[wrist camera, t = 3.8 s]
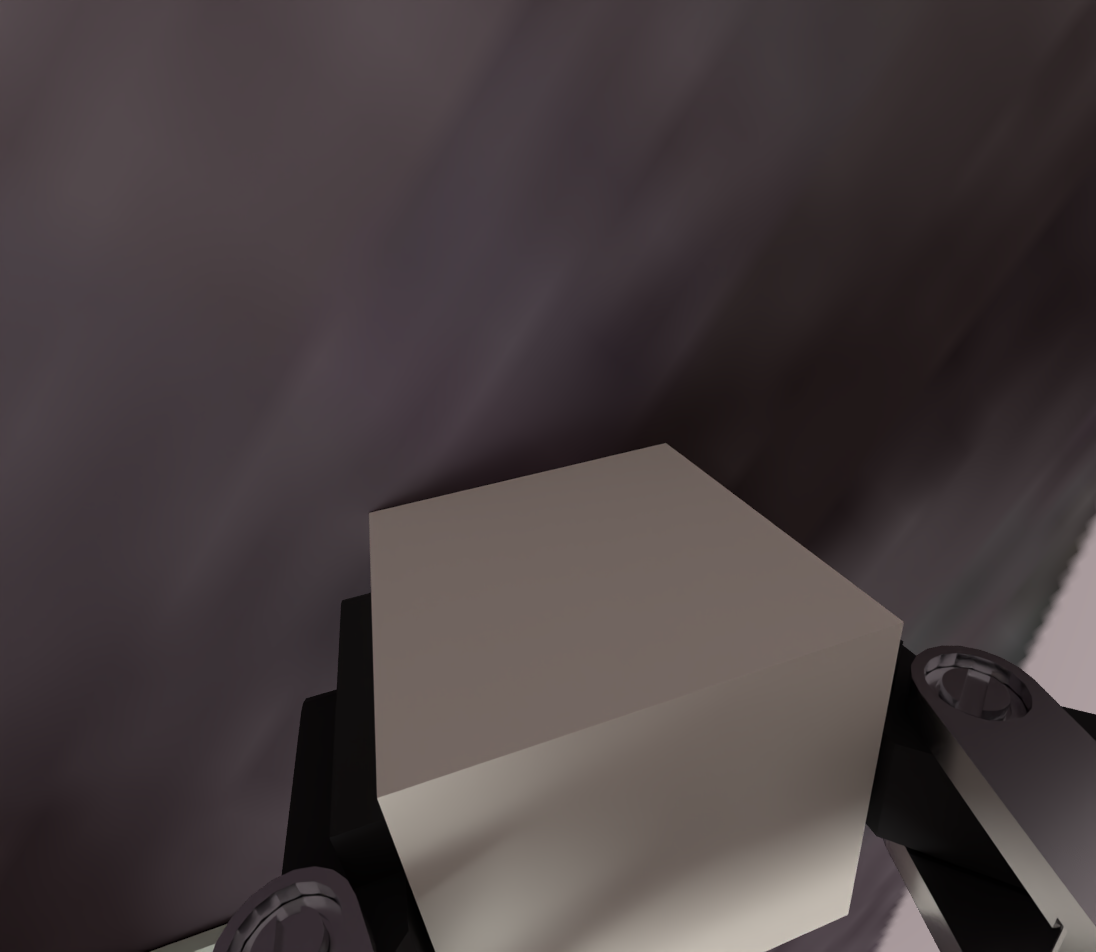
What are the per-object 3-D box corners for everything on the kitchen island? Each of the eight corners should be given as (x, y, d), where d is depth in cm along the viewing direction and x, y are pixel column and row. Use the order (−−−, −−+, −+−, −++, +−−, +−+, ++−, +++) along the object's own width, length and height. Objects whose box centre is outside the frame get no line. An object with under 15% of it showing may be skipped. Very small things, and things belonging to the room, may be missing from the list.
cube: (368, 513, 9) (376, 797, 5) (666, 442, 10) (903, 621, 6) (435, 740, 11) (483, 1079, 7) (672, 664, 12) (847, 916, 8)
